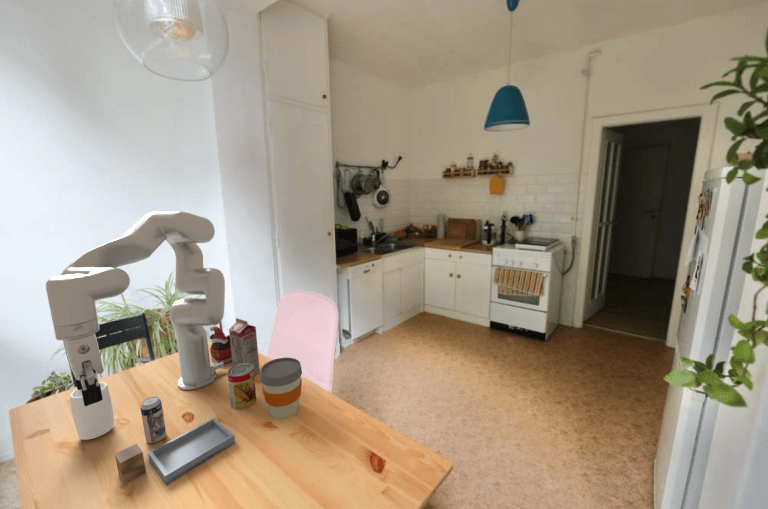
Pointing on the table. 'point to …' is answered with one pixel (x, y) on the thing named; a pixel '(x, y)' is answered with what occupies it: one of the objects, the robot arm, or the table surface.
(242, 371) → the canned food
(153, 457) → the tray
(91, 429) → the cup
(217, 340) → the christmas cupcake figurine
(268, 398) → the reusable coffee cup
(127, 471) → the block
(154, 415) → the beer can
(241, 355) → the juice carton
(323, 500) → the table surface
